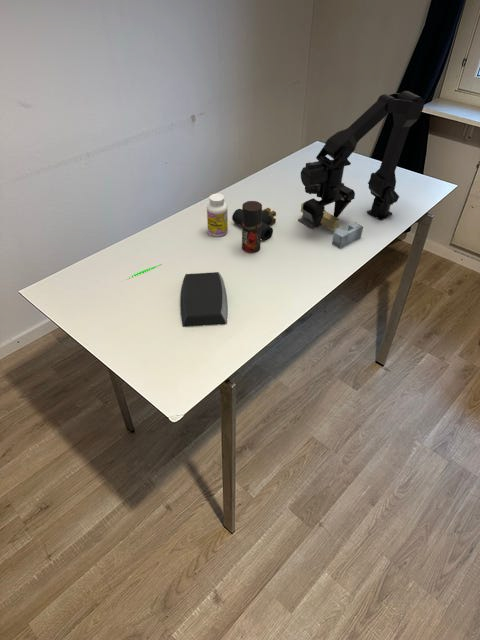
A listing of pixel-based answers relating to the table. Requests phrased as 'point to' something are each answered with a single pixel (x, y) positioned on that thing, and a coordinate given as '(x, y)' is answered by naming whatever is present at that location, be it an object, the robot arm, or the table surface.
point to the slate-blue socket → (347, 235)
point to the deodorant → (251, 226)
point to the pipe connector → (265, 223)
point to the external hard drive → (203, 300)
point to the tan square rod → (328, 220)
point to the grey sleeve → (307, 220)
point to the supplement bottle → (217, 215)
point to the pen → (144, 271)
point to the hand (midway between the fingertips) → (325, 223)
